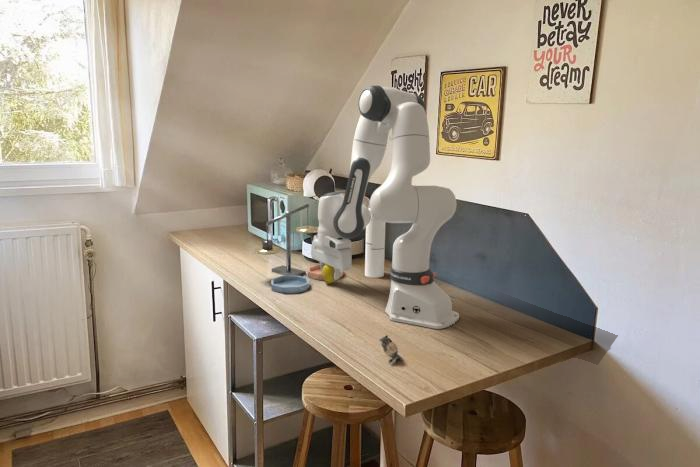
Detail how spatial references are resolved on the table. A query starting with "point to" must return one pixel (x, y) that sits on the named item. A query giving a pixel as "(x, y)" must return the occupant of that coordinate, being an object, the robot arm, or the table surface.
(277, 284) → the blue dish
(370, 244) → the cylindrical container
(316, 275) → the terracotta dish
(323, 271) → the lemon
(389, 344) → the grey brown knobbly figurine
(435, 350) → the table surface
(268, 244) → the balance
